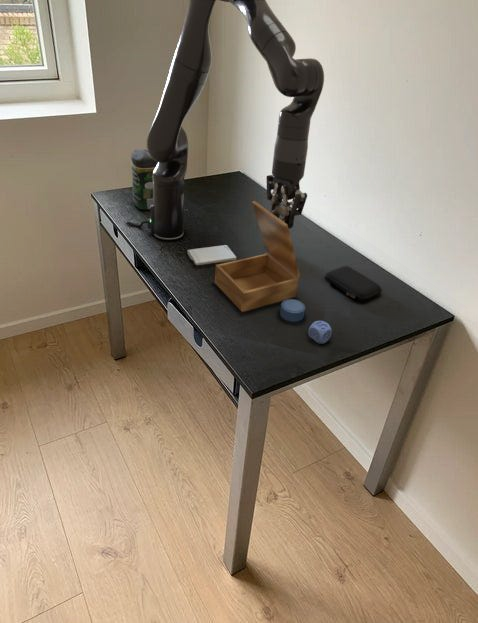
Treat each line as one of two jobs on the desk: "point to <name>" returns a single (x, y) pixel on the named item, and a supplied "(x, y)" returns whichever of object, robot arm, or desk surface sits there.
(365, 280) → the carrying case
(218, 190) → the desk surface
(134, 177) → the coffee jar
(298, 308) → the blue lid
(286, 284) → the chest
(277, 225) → the cover
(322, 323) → the decorative dice
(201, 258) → the hard drive
